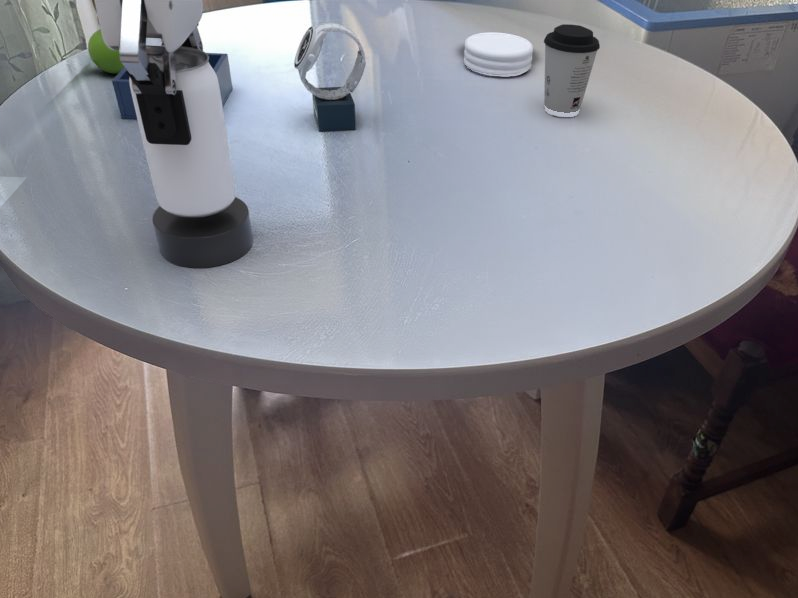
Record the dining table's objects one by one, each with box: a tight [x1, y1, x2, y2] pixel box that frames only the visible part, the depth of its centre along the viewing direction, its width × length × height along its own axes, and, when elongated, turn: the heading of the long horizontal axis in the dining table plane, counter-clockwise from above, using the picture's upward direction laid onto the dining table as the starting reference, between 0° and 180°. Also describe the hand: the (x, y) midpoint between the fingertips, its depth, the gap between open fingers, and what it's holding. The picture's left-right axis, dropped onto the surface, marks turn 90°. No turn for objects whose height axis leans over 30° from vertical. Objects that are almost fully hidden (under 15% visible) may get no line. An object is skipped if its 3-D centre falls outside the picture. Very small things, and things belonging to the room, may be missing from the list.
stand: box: [151, 196, 254, 269], centre depth 63 cm, size 8×8×3 cm
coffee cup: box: [543, 23, 601, 113], centre depth 90 cm, size 7×7×10 cm
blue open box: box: [111, 52, 233, 120], centre depth 86 cm, size 11×11×4 cm
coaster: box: [463, 31, 534, 75], centre depth 104 cm, size 10×10×4 cm
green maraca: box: [87, 0, 124, 75], centre depth 90 cm, size 5×6×12 cm
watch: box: [293, 21, 367, 133], centre depth 83 cm, size 6×8×11 cm
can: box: [129, 46, 237, 218], centre depth 58 cm, size 6×6×12 cm
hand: (181, 121), depth 57 cm, fingers closed on can, 6 cm apart
